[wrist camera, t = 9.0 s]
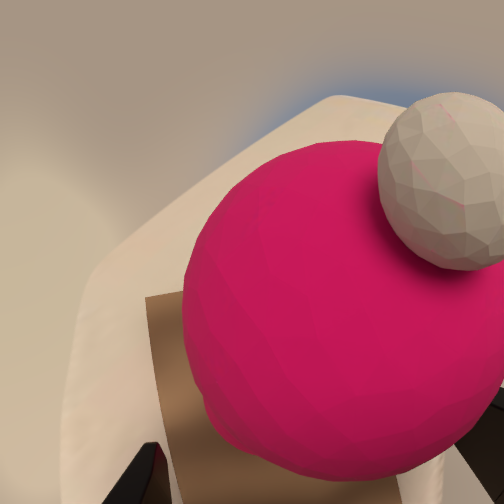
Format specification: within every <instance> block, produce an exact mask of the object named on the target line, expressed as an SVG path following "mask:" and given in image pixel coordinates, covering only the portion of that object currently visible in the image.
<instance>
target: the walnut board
mask: <svg viewBox="0 0 504 504" xmlns="http://www.w3.org/2000/svg"><path fill="white" fill-rule="evenodd" d="M182 299H183V291H180V292H174V293H169V294H163V295H157V296H152V297H146V298H145V302H146V311H147V320H148V329H149V337H150V344H151V352H152V359H153V365H154V372H155V378H156V384H157V390H158V396H159V401H160V407H161V412H162V417H163V422H164V427H165V432H166V436H167V441H168V445H169V450H170V454H171V458H172V462H173V466H174V470H175V474H176V478H177V482H178V486H179V489H180V493H181V497H182V500H183V504H402V501H401V496H400V492H399V487H398V483H397V478H396V475H394V476H390V477H386V478H381V479H377V480H373V481H348V482H331V481H326V480H321V479H316V478H311V477H306V476H302V475H298V474H296V473H294V472H291V471H289V470H287V469H284V468H282V467H280V466H278V465H275V464H273V463H271V462H269V461H267V460H265V459H263V458H260V457H259V456H256V455H252V454H248V453H246V452H243V451H241V450H239V449H237V448H236V447H234V446H233V445H231V444H230V443H228V442H227V441H225V440H224V439H223V437H222V436H221V435H220V434H219V433H218V432H217V431H216V430H215V428H214V427H213V425H212V424H211V422H210V420H209V418H208V415H207V413H206V410H205V405H204V401H203V395H202V394H201V392H200V390H199V389H198V387H197V385H196V384H195V381H194V378H193V375H192V371H191V368H190V365H189V361H188V357H187V353H186V349H185V345H184V337H183V322H182Z"/></svg>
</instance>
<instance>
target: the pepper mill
mask: <svg viewBox="0 0 504 504" xmlns="http://www.w3.org/2000/svg"><path fill="white" fill-rule="evenodd" d="M182 322H183V337H184V345H185V349H186V353H187V357H188V361H189V365H190V368H191V371H192V375H193V378H194V381H195V384H196V385H197V387H198V389H199V390H200V392H201V394H202V395H203V401H204V405H205V410H206V413H207V415H208V418H209V420H210V422H211V424H212V425H213V427H214V428H215V430H216V431H217V432H218V433H219V434H220V435H221V436H222V437H223V439H224V440H225V441H227V442H228V443H230V444H231V445H233V446H234V447H236V448H237V449H239V450H241V451H243V452H246V453H248V454H252V455H256V456H259V457H260V458H263V459H265V460H267V461H269V462H271V463H273V464H275V465H278V466H280V467H282V468H284V469H287V470H289V471H291V472H294V473H296V474H298V475H302V476H306V477H311V478H316V479H321V480H326V481H331V482H348V481H373V480H377V479H381V478H386V477H390V476H394V475H397V474H401V473H405V472H407V471H409V470H411V469H413V468H415V467H417V466H419V465H421V464H423V463H425V462H427V461H429V460H431V459H433V458H434V457H436V456H437V455H439V454H441V453H442V452H444V451H445V450H447V449H448V448H450V447H451V446H452V445H453V444H455V443H456V442H457V441H458V440H459V439H461V438H462V437H463V436H464V435H465V434H466V433H467V432H469V431H470V430H471V429H472V428H473V427H474V425H475V424H476V423H477V421H478V420H479V418H480V417H481V416H482V414H483V413H484V412H485V410H486V409H487V407H488V406H489V404H490V403H491V402H492V400H493V399H494V397H495V396H496V394H497V392H498V390H499V388H500V386H501V384H502V382H503V379H504V112H503V111H501V110H500V109H499V108H498V107H496V106H495V105H494V104H492V103H490V102H488V101H486V100H484V99H481V98H479V97H477V96H473V95H469V94H464V93H459V92H450V93H440V94H436V95H433V96H430V97H427V98H425V99H422V100H419V101H416V102H415V103H414V104H412V105H411V106H410V107H409V108H408V109H407V110H405V111H404V112H403V113H402V114H401V115H399V116H398V117H397V118H396V120H395V121H394V123H393V124H392V126H391V127H390V129H389V130H388V132H387V133H386V136H385V139H384V142H383V144H379V143H373V142H365V141H356V140H352V141H335V142H323V143H316V144H313V145H310V146H307V147H304V148H301V149H298V150H295V151H291V152H288V153H285V154H282V155H280V156H278V157H276V158H274V159H272V160H270V161H269V162H267V163H265V164H263V165H261V166H260V167H258V168H257V169H256V170H254V171H253V172H252V173H250V174H249V175H248V176H247V177H245V178H244V179H243V180H242V181H240V182H239V183H238V184H237V185H235V186H234V187H233V188H232V189H231V190H230V191H229V192H228V194H227V195H226V196H225V197H224V198H223V200H222V201H221V202H220V204H219V205H218V206H217V207H216V209H215V210H214V211H213V213H212V214H211V215H210V217H209V218H208V220H207V222H206V224H205V225H204V227H203V229H202V231H201V232H200V234H199V236H198V238H197V240H196V243H195V246H194V249H193V252H192V255H191V258H190V261H189V264H188V267H187V270H186V273H185V277H184V287H183V299H182Z"/></svg>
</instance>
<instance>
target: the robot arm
mask: <svg viewBox="0 0 504 504" xmlns="http://www.w3.org/2000/svg"><path fill="white" fill-rule="evenodd" d="M454 445H455V446H456V448H457V449H458V450H459V452H460V453H461V455H462V456H463V458H464V459H465V461H466V462H467V464H468V465H469V466H470V468H471V469H472V471H473V472H474V474H475V475H476V477H477V478H478V480H479V481H480V483H481V484H482V486H483V487H484V489H485V490H486V491H487V493H488V495H489V496H490V498H491V499H492V501H493V502H494V504H504V388H502V387H500V388H499V390H498V392H497V394H496V396H495V397H494V399H493V400H492V402H491V403H490V404H489V406H488V407H487V409H486V410H485V412H484V413H483V414H482V416H481V417H480V418H479V420H478V421H477V423H476V424H475V425H474V427H473V428H472V429H471V430H470V431H469V432H467V433H466V434H465V435H464V436H463V437H462V438H461V439H459V440H458V441H457V442H456V443H455V444H454ZM102 504H172V499H171V491H170V482H169V473H168V464H167V459H166V457H165V455H164V453H163V451H162V449H161V447H160V445H159V443H158V442H146V443H144V444H143V446H142V447H141V449H140V450H139V452H138V453H137V454H136V456H135V457H134V459H133V460H132V462H131V463H130V464H129V466H128V467H127V469H126V470H125V472H124V473H123V474H122V476H121V477H120V479H119V480H118V481H117V483H116V484H115V486H114V487H113V489H112V490H111V491H110V493H109V494H108V496H107V497H106V498H105V500H104V501H103V503H102Z"/></svg>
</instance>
